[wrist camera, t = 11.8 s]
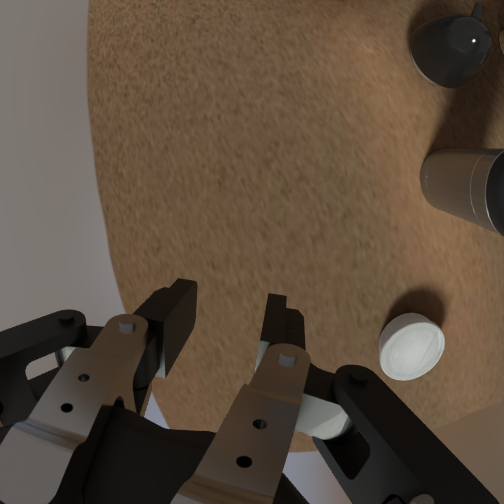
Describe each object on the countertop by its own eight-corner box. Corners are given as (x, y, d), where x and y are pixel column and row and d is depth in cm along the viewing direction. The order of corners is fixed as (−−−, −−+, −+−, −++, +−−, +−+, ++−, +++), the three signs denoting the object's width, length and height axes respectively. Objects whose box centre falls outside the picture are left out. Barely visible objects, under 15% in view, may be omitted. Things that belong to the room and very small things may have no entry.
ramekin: (433, 352, 47) (443, 369, 42) (376, 370, 49) (382, 388, 44) (433, 298, 44) (446, 312, 39) (370, 316, 46) (377, 333, 41)
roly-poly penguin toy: (463, 52, 32) (516, 24, 18) (452, 104, 35) (511, 88, 21) (408, 20, 32) (448, -23, 18) (394, 72, 35) (438, 38, 21)
